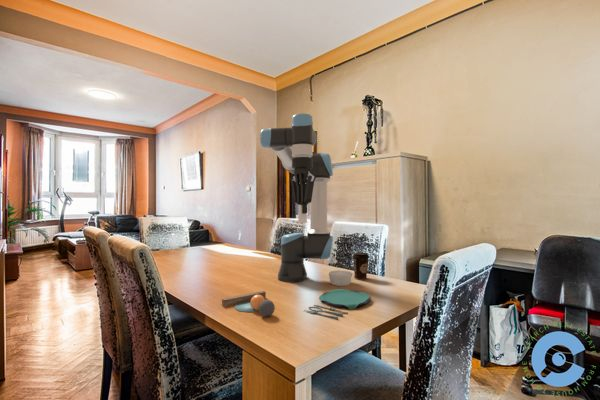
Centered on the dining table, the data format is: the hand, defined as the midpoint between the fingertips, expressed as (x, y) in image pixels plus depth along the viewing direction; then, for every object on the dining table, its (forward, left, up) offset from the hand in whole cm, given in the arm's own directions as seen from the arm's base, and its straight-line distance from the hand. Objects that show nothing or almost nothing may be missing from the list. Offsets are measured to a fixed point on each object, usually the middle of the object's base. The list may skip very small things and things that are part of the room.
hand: (302, 222), depth 111 cm
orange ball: (+15, -7, -30) cm, 34 cm away
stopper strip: (+19, -18, -32) cm, 42 cm away
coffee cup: (-42, -38, -33) cm, 65 cm away
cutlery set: (-16, -5, -33) cm, 37 cm away
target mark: (+17, -12, -32) cm, 38 cm away
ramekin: (-28, -32, -33) cm, 54 cm away
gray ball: (+13, 0, -30) cm, 33 cm away
